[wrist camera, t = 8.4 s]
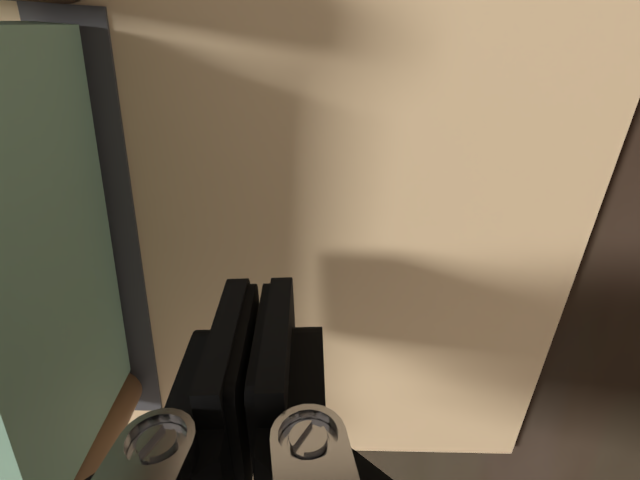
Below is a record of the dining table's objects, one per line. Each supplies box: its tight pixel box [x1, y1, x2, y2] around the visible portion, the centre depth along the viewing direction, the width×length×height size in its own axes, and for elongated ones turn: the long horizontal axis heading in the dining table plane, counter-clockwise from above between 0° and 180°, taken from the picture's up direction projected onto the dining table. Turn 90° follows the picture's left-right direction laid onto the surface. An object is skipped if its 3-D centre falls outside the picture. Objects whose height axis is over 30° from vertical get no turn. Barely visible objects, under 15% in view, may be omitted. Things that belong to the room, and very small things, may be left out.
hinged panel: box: [0, 21, 142, 480], centre depth 10 cm, size 2×12×6 cm, turn 176°
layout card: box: [0, 0, 640, 454], centre depth 13 cm, size 20×29×1 cm
